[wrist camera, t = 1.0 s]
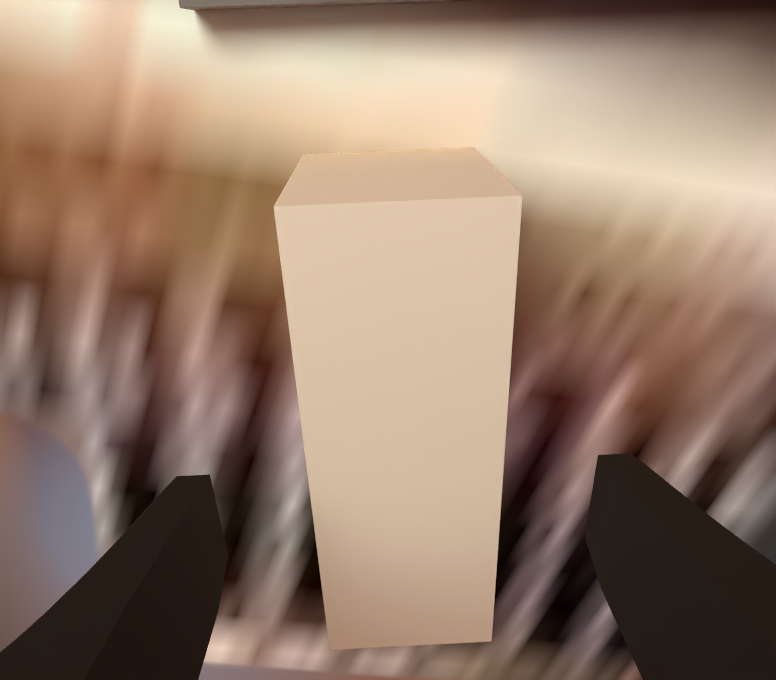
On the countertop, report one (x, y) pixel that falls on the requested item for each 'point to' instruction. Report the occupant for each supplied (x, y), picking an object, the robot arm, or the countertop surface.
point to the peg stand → (276, 3)
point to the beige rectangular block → (402, 383)
